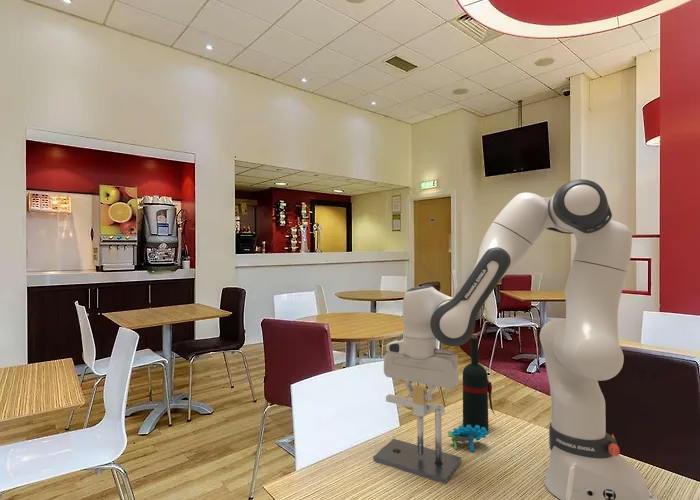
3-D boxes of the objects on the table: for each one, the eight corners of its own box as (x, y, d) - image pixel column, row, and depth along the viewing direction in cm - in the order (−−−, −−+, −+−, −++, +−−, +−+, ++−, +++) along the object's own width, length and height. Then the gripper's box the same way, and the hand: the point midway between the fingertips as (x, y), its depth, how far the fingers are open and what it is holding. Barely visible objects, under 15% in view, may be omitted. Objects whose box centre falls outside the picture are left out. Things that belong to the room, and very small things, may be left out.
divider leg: (427, 455, 105) (427, 387, 105) (424, 459, 103) (423, 390, 103) (417, 452, 106) (416, 385, 106) (413, 456, 104) (412, 388, 104)
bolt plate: (461, 461, 105) (460, 457, 105) (445, 484, 94) (445, 478, 94) (393, 442, 115) (393, 438, 115) (373, 460, 105) (373, 456, 105)
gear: (487, 435, 116) (486, 421, 109) (491, 457, 112) (490, 443, 105) (449, 437, 118) (446, 423, 112) (452, 458, 114) (448, 445, 108)
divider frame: (446, 458, 104) (445, 405, 104) (440, 465, 101) (440, 411, 101) (389, 442, 113) (389, 394, 113) (382, 448, 110) (382, 398, 110)
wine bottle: (499, 435, 120) (498, 336, 120) (466, 435, 120) (465, 336, 120) (490, 424, 127) (489, 331, 128) (459, 424, 128) (458, 331, 128)
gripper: (461, 348, 102) (462, 402, 102) (391, 340, 113) (391, 388, 113) (454, 354, 96) (454, 410, 96) (380, 344, 108) (381, 395, 107)
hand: (420, 398), depth 105 cm, fingers closed on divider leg, 3 cm apart
